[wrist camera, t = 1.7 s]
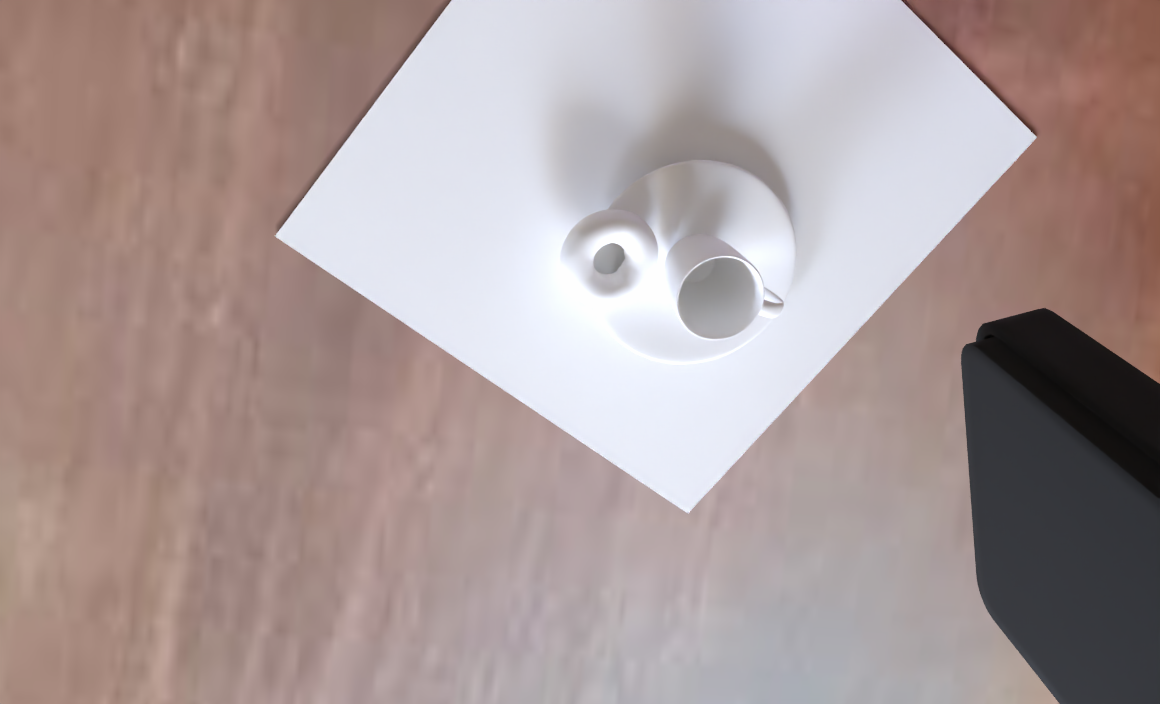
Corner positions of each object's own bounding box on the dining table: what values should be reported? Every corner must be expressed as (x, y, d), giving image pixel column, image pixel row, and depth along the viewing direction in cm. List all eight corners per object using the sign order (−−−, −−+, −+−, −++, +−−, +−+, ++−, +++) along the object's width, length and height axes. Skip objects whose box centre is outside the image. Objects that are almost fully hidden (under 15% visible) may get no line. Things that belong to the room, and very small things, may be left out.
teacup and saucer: (524, 269, 40) (537, 310, 36) (665, 97, 38) (694, 122, 35) (696, 395, 43) (724, 444, 40) (834, 241, 42) (876, 278, 38)
